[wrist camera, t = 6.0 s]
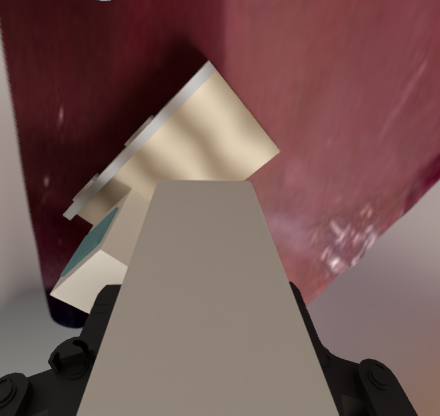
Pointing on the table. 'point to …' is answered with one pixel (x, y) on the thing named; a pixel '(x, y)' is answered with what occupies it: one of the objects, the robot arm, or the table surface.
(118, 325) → the carton
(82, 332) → the robot arm
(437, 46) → the table surface
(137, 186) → the thin cream board
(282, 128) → the table surface
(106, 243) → the carton
